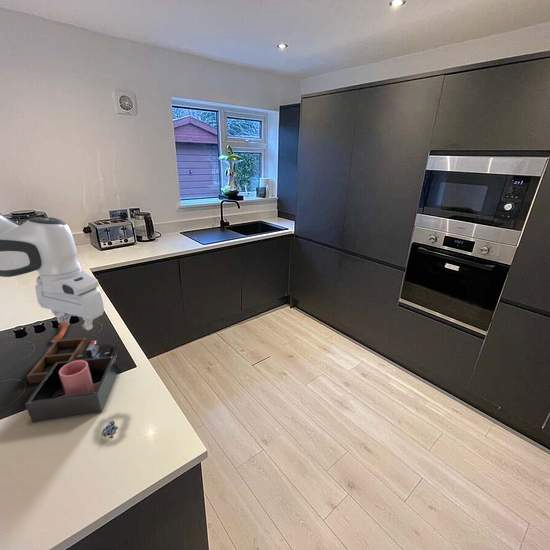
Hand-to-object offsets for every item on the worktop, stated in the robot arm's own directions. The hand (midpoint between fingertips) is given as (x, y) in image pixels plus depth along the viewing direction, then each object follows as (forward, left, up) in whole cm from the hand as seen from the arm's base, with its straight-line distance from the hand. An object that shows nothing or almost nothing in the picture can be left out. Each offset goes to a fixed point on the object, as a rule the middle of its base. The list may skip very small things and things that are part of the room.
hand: (75, 325), depth 80 cm
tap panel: (-1, +7, -18) cm, 19 cm away
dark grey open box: (0, -8, -18) cm, 20 cm away
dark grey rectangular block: (-1, +7, -15) cm, 16 cm away
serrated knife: (-20, +35, -18) cm, 44 cm away
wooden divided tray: (-11, +8, -18) cm, 22 cm away
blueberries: (+12, -22, -18) cm, 31 cm away
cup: (+1, -8, -17) cm, 19 cm away
